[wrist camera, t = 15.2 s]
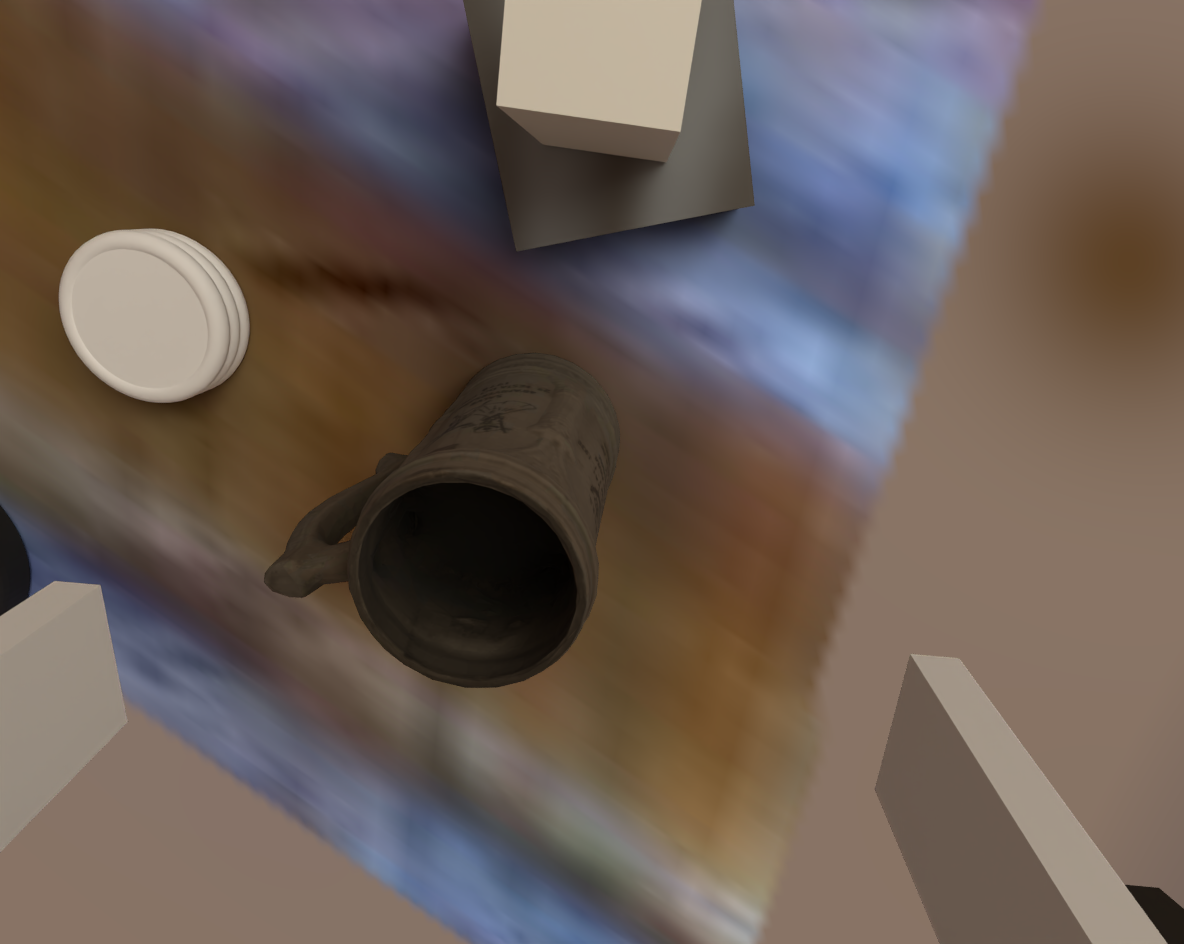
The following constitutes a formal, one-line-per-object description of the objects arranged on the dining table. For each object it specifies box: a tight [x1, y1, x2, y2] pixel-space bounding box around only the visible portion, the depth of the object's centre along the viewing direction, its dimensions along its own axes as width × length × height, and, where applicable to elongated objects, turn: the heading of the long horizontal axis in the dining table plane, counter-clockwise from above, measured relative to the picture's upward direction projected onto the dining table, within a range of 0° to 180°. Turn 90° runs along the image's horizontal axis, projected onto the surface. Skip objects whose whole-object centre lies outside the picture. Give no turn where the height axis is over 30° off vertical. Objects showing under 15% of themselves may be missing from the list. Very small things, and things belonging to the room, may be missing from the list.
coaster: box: [59, 229, 250, 403], centre depth 43 cm, size 10×10×4 cm
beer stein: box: [264, 353, 620, 688], centre depth 37 cm, size 15×11×20 cm
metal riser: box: [463, 0, 754, 252], centre depth 36 cm, size 12×12×6 cm
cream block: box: [496, 0, 702, 162], centre depth 28 cm, size 6×6×12 cm
